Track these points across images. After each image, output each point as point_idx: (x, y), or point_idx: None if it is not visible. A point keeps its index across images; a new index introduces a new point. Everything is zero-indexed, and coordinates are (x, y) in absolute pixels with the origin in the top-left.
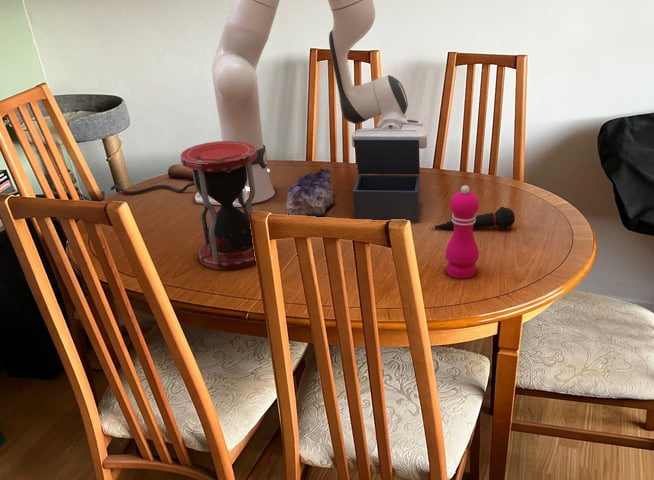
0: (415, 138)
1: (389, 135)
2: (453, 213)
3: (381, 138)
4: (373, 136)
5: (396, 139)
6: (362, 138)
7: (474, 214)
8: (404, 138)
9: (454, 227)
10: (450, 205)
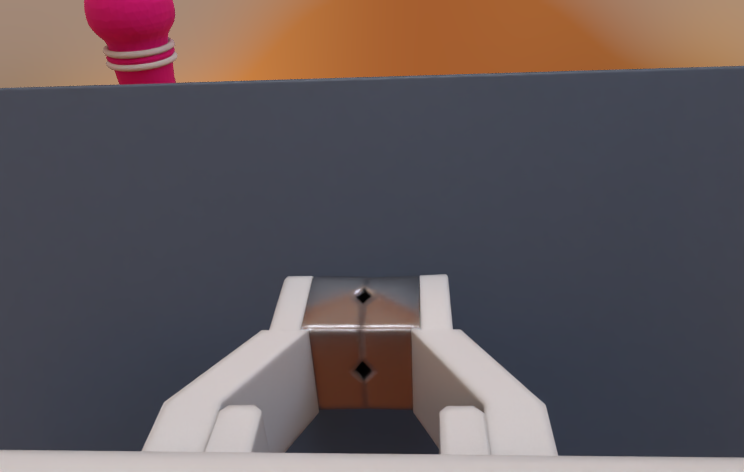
0: (22, 90)
1: (318, 456)
2: (164, 45)
3: (427, 78)
4: (717, 459)
5: (247, 86)
6: (670, 71)
7: (106, 46)
8: (149, 85)
9: (173, 76)
10: (173, 5)
